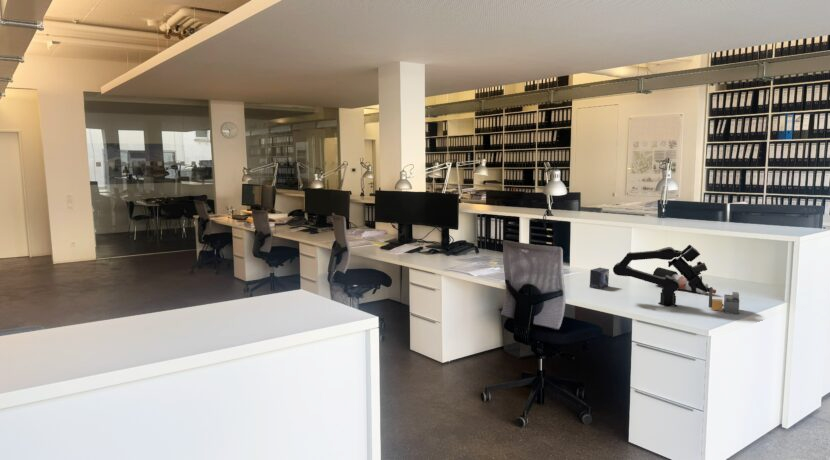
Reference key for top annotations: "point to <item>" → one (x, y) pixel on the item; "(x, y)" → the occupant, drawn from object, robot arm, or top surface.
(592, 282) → the small box
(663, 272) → the striped tapered cylinder
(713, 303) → the plug
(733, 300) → the housing
